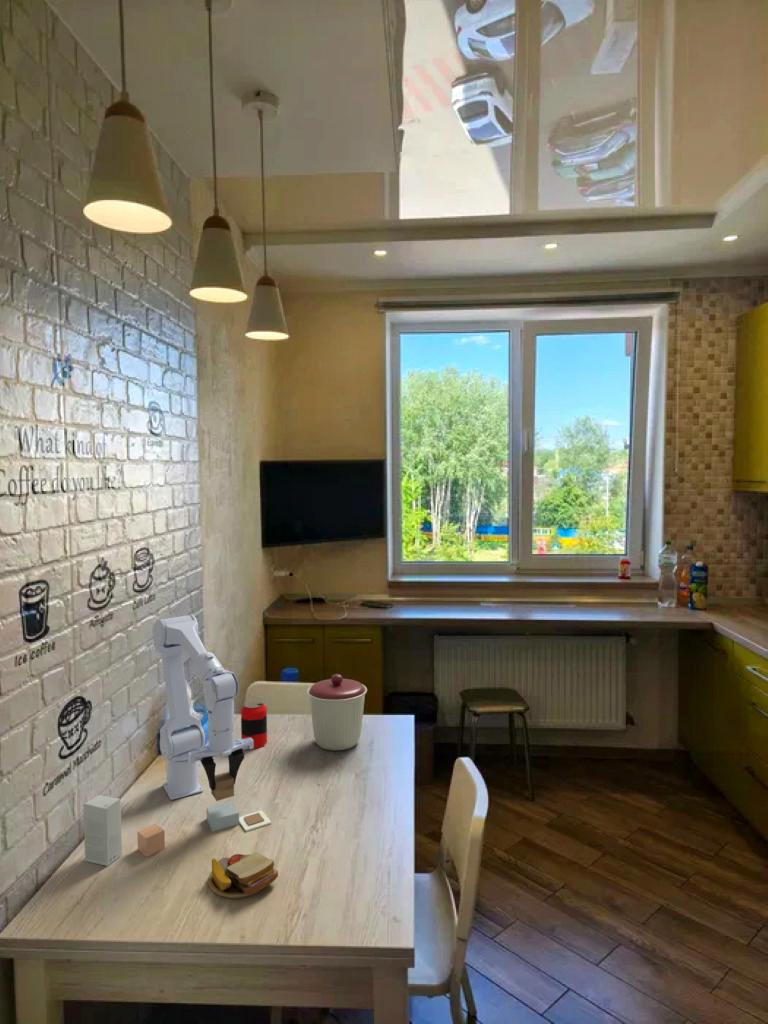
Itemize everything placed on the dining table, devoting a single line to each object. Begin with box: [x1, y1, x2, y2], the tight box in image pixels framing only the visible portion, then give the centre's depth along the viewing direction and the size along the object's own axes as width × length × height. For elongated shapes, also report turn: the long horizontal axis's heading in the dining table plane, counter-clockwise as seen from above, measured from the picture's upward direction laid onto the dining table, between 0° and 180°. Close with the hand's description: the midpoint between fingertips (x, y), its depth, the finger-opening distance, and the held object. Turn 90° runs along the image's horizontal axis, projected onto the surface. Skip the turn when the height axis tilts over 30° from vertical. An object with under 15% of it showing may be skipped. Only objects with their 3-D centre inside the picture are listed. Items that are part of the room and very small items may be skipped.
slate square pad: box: [206, 800, 240, 832], centre depth 135 cm, size 6×6×3 cm
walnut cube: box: [210, 771, 235, 802], centre depth 135 cm, size 4×4×4 cm
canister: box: [306, 673, 368, 752], centre depth 177 cm, size 18×18×21 cm
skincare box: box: [83, 794, 123, 867], centre depth 122 cm, size 6×4×12 cm
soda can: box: [240, 700, 268, 749], centre depth 178 cm, size 8×8×12 cm
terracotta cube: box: [136, 822, 166, 858], centre depth 125 cm, size 4×4×4 cm
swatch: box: [239, 809, 272, 832], centre depth 135 cm, size 6×6×1 cm
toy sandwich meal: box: [207, 852, 279, 899], centre depth 115 cm, size 12×14×5 cm
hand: (222, 785), depth 135 cm, fingers closed on walnut cube, 4 cm apart
